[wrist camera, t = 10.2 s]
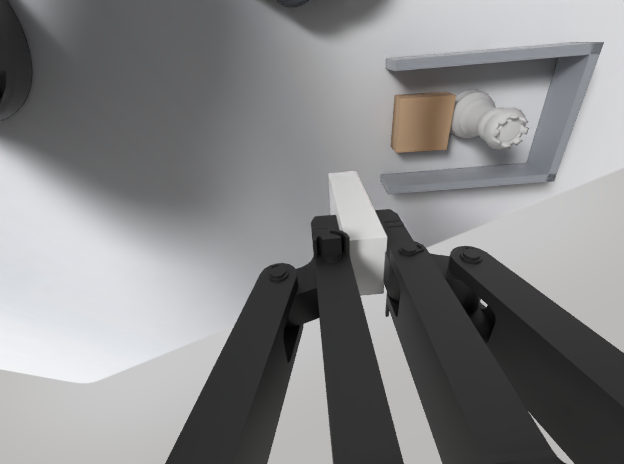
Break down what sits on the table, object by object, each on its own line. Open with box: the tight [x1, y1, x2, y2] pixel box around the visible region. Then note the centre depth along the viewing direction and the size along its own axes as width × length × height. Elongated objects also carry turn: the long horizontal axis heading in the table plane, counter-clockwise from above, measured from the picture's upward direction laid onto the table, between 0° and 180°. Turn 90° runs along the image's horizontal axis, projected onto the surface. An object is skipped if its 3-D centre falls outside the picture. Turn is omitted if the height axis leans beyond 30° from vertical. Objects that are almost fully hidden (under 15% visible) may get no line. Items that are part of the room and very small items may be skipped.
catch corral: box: [381, 42, 604, 194], centre depth 29 cm, size 17×12×4 cm
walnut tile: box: [391, 92, 456, 153], centre depth 30 cm, size 5×5×2 cm
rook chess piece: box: [450, 89, 529, 149], centre depth 27 cm, size 4×4×8 cm
